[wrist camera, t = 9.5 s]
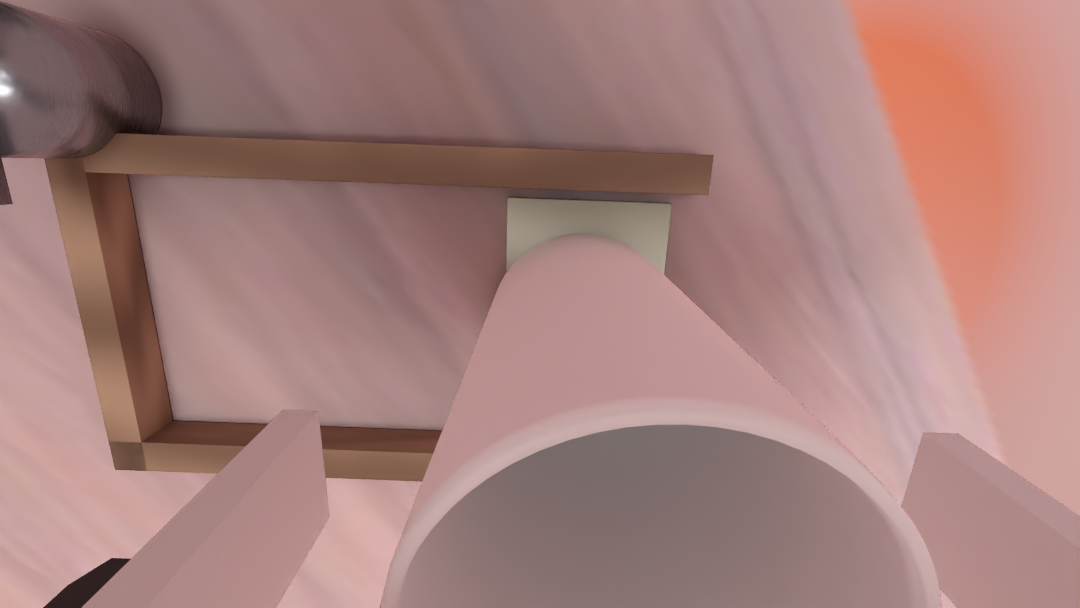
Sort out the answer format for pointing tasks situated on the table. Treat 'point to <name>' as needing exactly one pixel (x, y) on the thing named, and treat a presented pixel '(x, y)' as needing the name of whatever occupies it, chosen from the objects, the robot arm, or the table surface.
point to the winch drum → (67, 89)
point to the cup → (639, 464)
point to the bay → (108, 215)
